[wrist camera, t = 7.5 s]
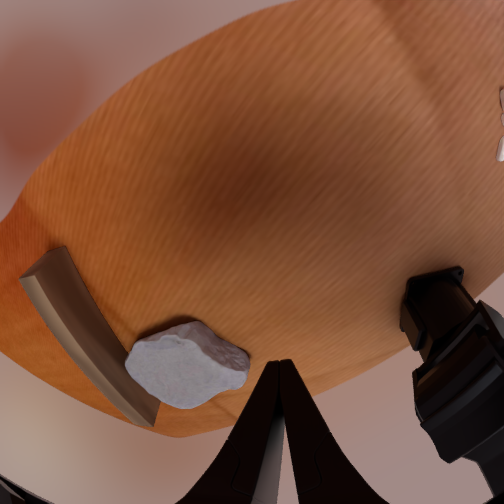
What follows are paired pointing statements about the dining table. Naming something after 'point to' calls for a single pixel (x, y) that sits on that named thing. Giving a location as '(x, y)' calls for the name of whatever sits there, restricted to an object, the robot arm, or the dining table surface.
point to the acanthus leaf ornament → (503, 146)
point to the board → (86, 333)
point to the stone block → (187, 365)
